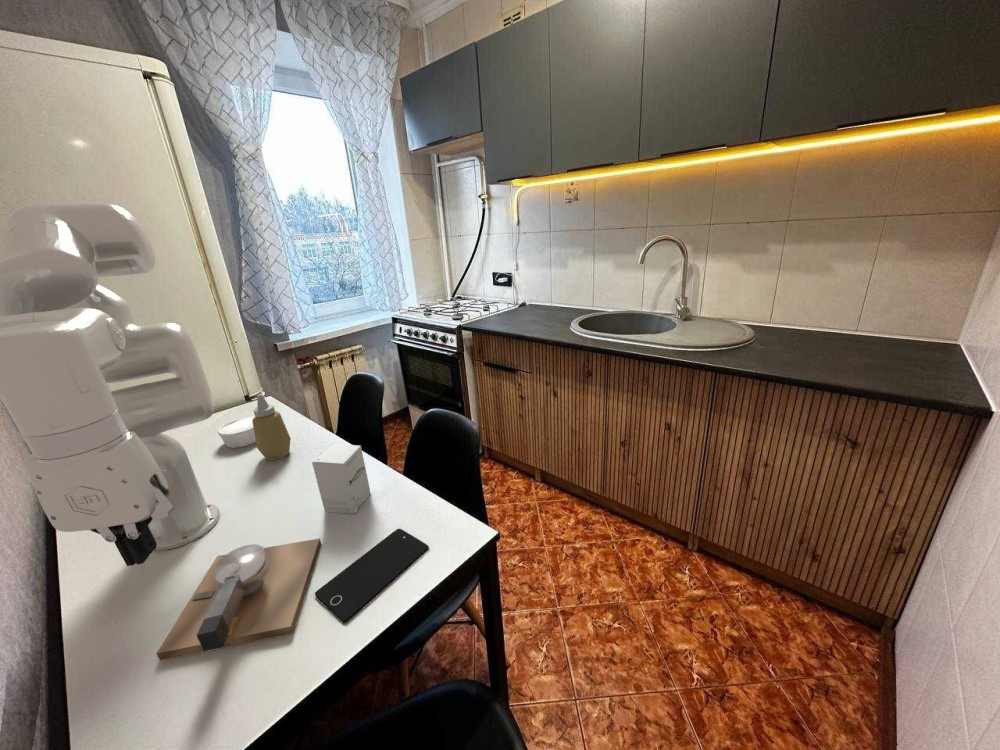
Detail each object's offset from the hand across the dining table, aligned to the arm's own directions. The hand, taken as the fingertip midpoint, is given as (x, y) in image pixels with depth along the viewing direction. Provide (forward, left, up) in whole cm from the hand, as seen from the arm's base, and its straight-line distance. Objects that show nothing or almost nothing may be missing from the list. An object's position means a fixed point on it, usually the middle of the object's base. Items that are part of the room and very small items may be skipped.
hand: (142, 556), depth 51 cm
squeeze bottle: (-6, +55, -18) cm, 59 cm away
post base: (+5, +8, -18) cm, 21 cm away
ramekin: (-19, +67, -19) cm, 72 cm away
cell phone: (+25, +9, -19) cm, 33 cm away
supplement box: (+17, +29, -18) cm, 39 cm away
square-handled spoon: (+6, +4, -14) cm, 16 cm away
